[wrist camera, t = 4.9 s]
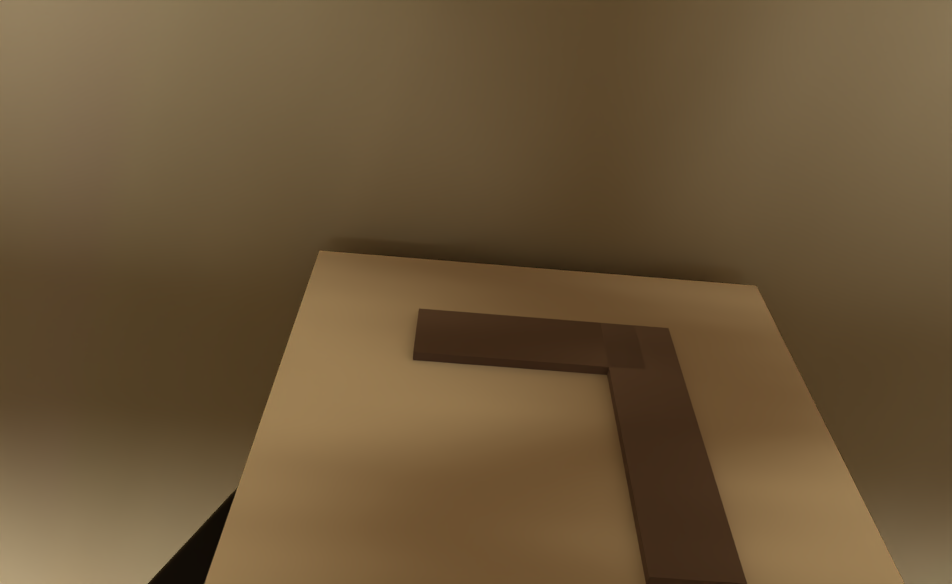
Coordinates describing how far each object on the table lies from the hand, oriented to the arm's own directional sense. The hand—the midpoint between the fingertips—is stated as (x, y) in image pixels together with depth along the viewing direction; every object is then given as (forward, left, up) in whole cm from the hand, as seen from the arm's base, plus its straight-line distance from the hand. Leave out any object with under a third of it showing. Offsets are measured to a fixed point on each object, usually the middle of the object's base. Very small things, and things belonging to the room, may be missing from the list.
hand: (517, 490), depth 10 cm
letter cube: (0, 0, -1) cm, 1 cm away
